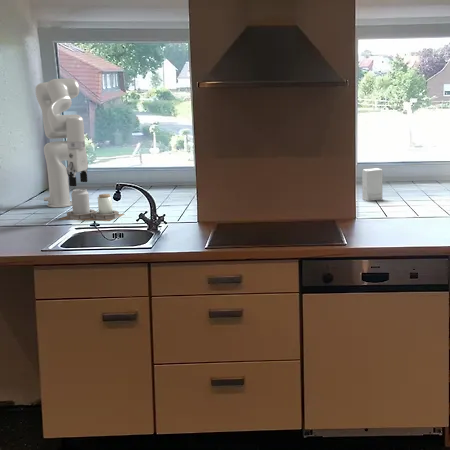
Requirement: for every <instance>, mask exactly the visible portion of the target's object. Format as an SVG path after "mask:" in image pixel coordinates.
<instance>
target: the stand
mask: <svg viewBox="0 0 450 450" xmlns="http://www.w3.org/2000/svg"><path fill="white" fill-rule="evenodd" d="M124 215H125V214H124V213H120V212H119V211H117V210H113V213H112V214H99V210H95V209H90V213H85V214H73V210H70V211H67V212H66V215H65V216H62V217H60V218H59V220H60V221H61V220H63V221H64V220H66V221H68V220H69V221H94V222H95V221H97V222H111V221H113V220H115V219H118V218H121V217H122V216H124Z"/></svg>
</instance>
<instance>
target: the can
mask: <svg viewBox="0 0 450 450" xmlns="http://www.w3.org/2000/svg"><path fill="white" fill-rule="evenodd" d="M87 190H88V189H86V188H76V189H72V192H71V193H70V195H71V201H72V205H71V206H72V207H71V208H72V211H73V214H85V213H90V196H89V195H90V194H89V191H87Z"/></svg>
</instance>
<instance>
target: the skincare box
mask: <svg viewBox="0 0 450 450" xmlns="http://www.w3.org/2000/svg"><path fill="white" fill-rule="evenodd" d="M361 173H362V174H361V175H362V176H361V177H362V178H361V182H362V183H361V185H362V190H361V191H362V192H361V193H362V195H361V196H362V200H364V201H366V202H370V201H379V200H383V182H384V181H383V180H384V179H383V177H384V176H383V173H384V170H383V169H382V168H379V167H374V168H364V169H362V170H361Z"/></svg>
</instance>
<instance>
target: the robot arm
mask: <svg viewBox="0 0 450 450" xmlns="http://www.w3.org/2000/svg"><path fill="white" fill-rule="evenodd" d="M79 94H80V85H79V83H78V81H77V80H76V79H74V78H71V77H70V78H68V77H67V78H54V79H53V78H52V79H51V80H49V81H47V82H40V83H38V84H37V85H36V86H35V96H36V100H37V103H38V104H39V106H40V109H41V114H42V122H43V128H44V134H45V137H46V138H47V139H52V140H56V139H57V140H56V141H51V142H48V143H46V144H45V145H44V146H43V154H44V157H45V162H46V169H47V178H48V179H47V180H48V190H49V193H48V194H49V196H44V198H43V202H47V203H46V204H47V207H48V208H65V207H67V208H68V207H70V206H72V200H71V199H70V187H77V177H76V175H77V173H79V176H80V177H79V178H80V182H81V183H88V169H89V162H88V153H87V150H86V144H85V143H86V142H85V139H86V138H85V126H84V125H85V124H84V118H83V117H82V116H81V115H80V114H62V113H64V112H66V111H68V110H69V109H70V108H71V106H72V103H73V102H72V99H75V98H76V97H78V95H79ZM58 139H66V140H61V141H60V140H59V141H58ZM64 161H67V166H65V164H63V162H64Z"/></svg>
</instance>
